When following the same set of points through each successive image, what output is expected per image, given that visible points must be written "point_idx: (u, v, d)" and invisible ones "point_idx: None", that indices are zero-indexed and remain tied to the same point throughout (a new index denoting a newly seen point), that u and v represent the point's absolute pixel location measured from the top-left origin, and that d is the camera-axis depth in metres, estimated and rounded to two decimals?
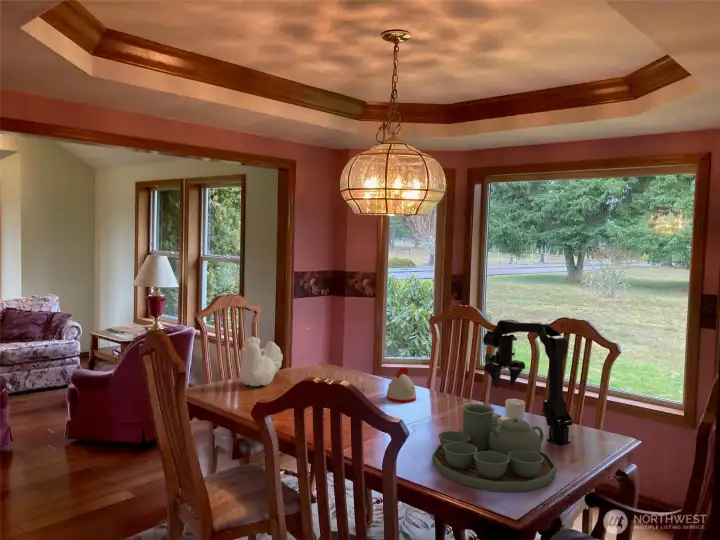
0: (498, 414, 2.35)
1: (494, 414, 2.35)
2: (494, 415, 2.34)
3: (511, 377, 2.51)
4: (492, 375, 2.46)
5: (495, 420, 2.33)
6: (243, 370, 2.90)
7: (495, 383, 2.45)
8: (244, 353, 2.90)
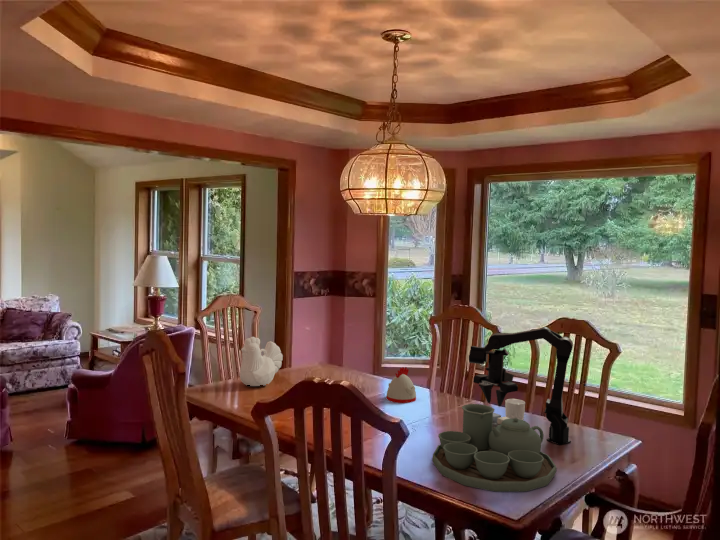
0: (498, 414, 2.35)
1: (494, 414, 2.35)
2: (494, 415, 2.34)
3: None
4: None
5: (495, 420, 2.33)
6: (243, 370, 2.90)
7: None
8: (244, 353, 2.90)
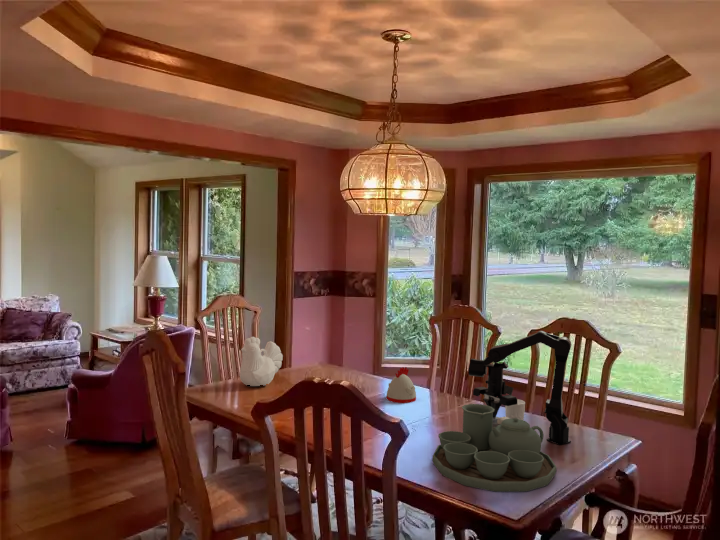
0: (498, 417, 2.35)
1: None
2: (494, 418, 2.34)
3: None
4: None
5: None
6: (243, 370, 2.90)
7: None
8: (244, 353, 2.90)
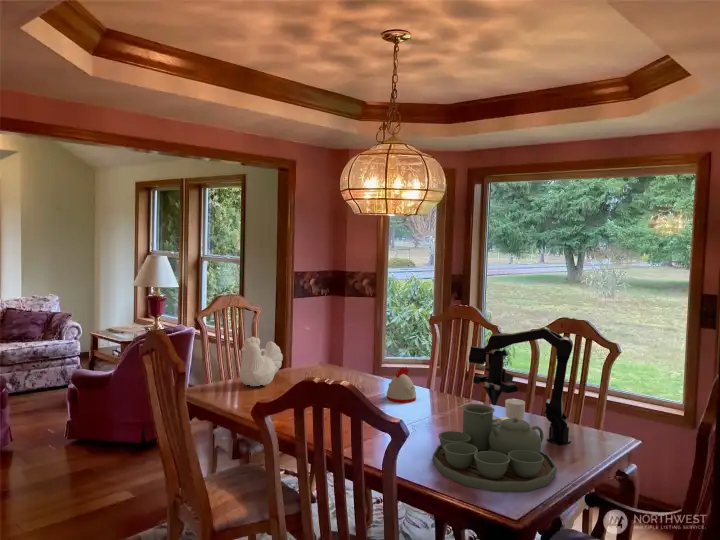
0: (498, 417, 2.35)
1: (494, 417, 2.35)
2: (494, 418, 2.34)
3: None
4: None
5: None
6: (243, 370, 2.90)
7: None
8: (244, 353, 2.90)
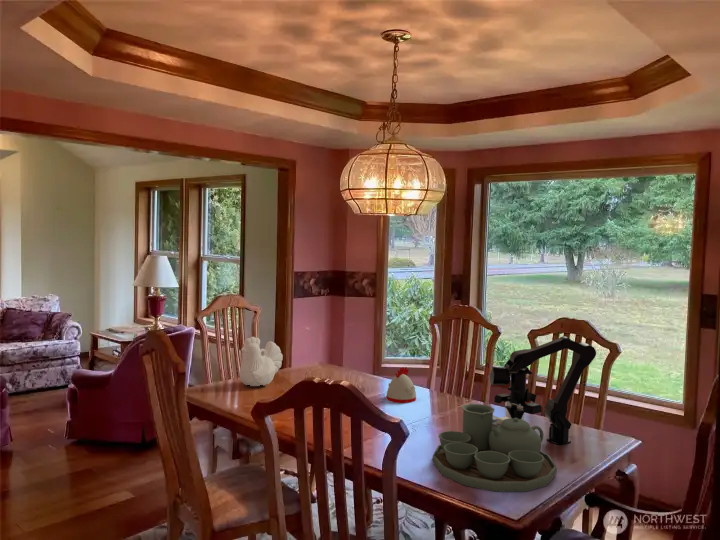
0: (498, 417, 2.35)
1: (494, 417, 2.35)
2: (494, 418, 2.34)
3: None
4: None
5: None
6: (243, 370, 2.90)
7: None
8: (244, 353, 2.90)
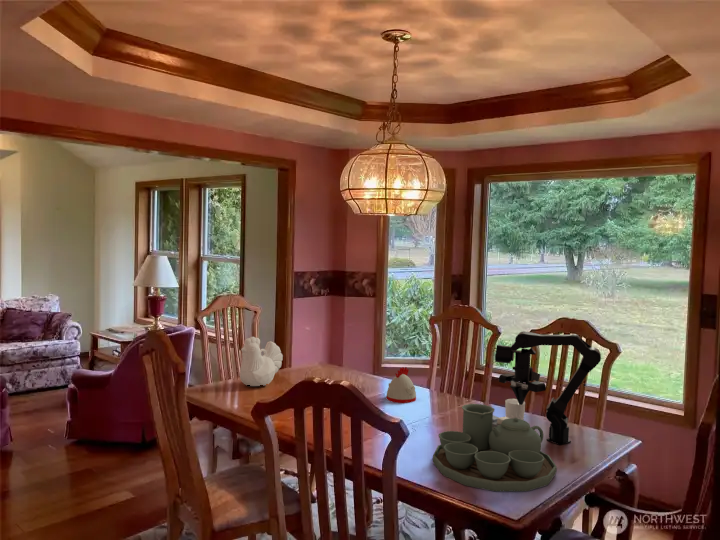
0: (498, 417, 2.35)
1: (494, 417, 2.35)
2: (494, 418, 2.34)
3: None
4: None
5: None
6: (243, 370, 2.90)
7: None
8: (244, 353, 2.90)
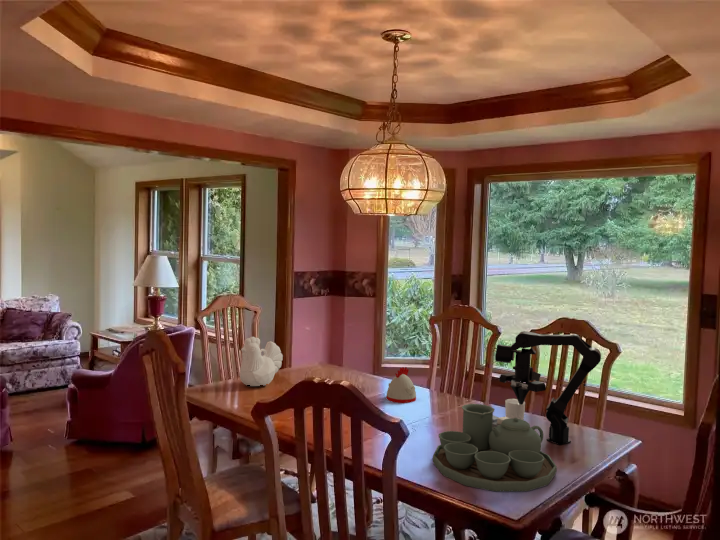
0: (498, 417, 2.35)
1: (494, 417, 2.35)
2: (494, 418, 2.34)
3: None
4: None
5: None
6: (243, 370, 2.90)
7: None
8: (244, 353, 2.90)
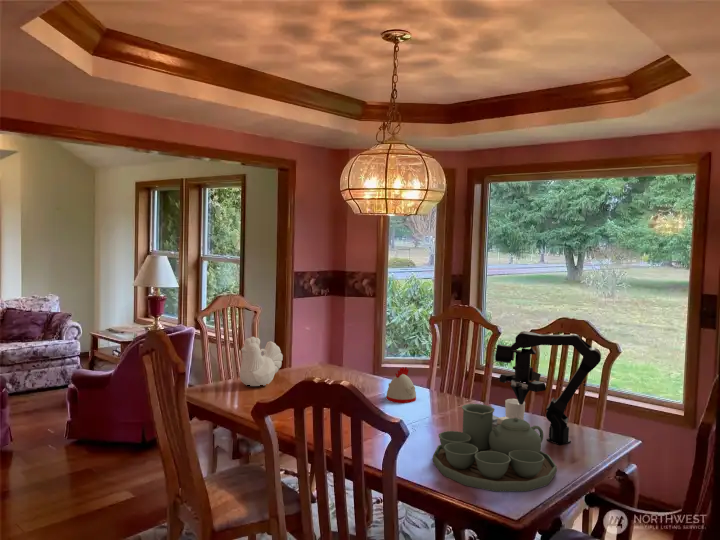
0: (498, 417, 2.35)
1: (494, 417, 2.35)
2: (494, 418, 2.34)
3: None
4: None
5: None
6: (243, 370, 2.90)
7: None
8: (244, 353, 2.90)
